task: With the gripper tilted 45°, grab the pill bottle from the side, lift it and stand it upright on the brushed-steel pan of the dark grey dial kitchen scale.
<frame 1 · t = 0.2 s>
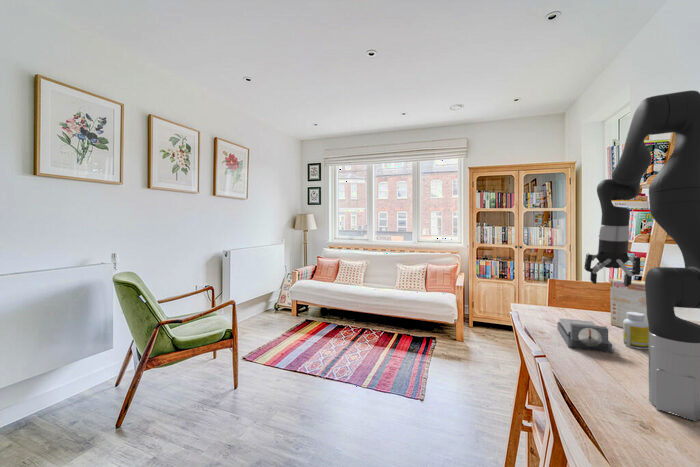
hand: (609, 284, 102), 22 cm above the table, tool pointing down, fingers open, 8 cm apart
coffeecake box: (636, 329, 120), on the table
kitchen scale: (581, 339, 111), on the table
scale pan: (580, 327, 112), point 4 cm above the table, slide at -0.4 cm
pill bottle: (635, 346, 104), on the table
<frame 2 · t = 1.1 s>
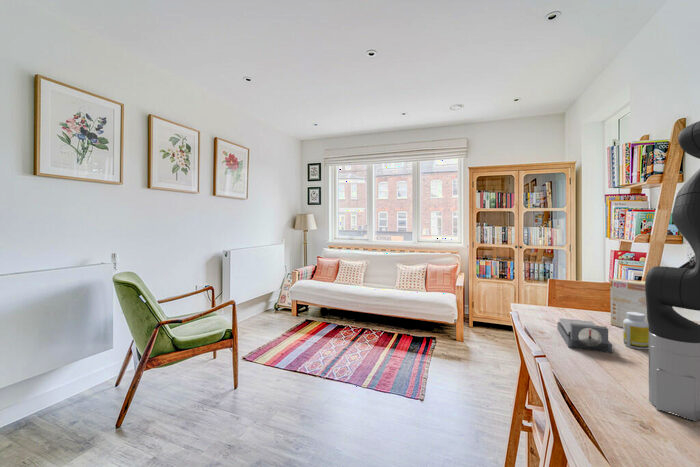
hand: (680, 273, 95), 27 cm above the table, tool tilted 45°, fingers open, 8 cm apart
nothing on the table moved.
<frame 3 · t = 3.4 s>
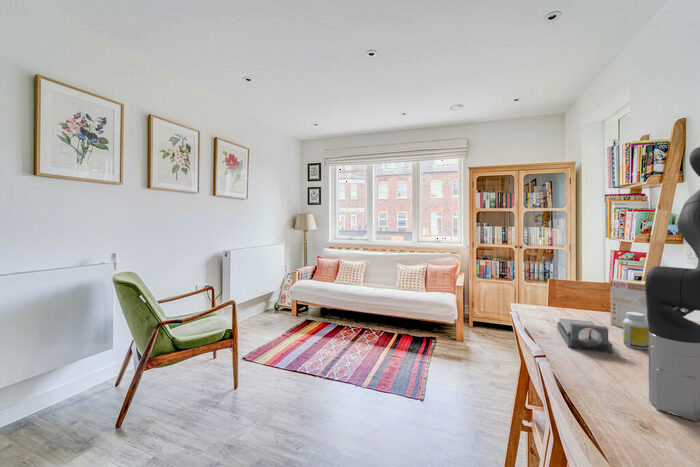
hand: (665, 316, 98), 12 cm above the table, tool tilted 45°, fingers open, 8 cm apart
nothing on the table moved.
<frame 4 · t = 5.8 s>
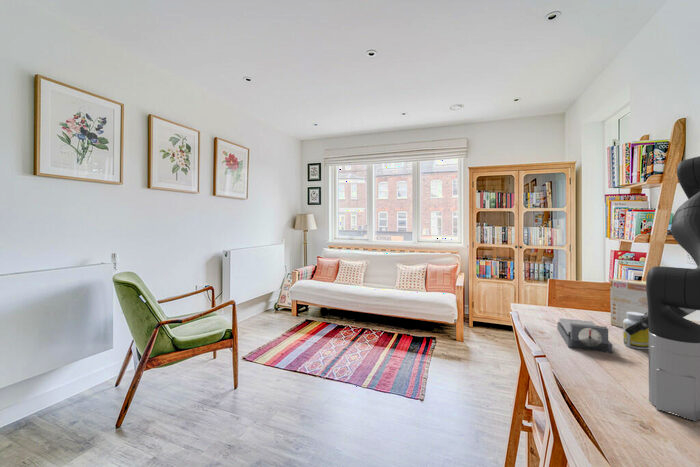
hand: (629, 329, 105), 5 cm above the table, tool tilted 45°, fingers closed on pill bottle, 6 cm apart
pill bottle: (635, 346, 104), on the table, touching gripper
everything else where it was.
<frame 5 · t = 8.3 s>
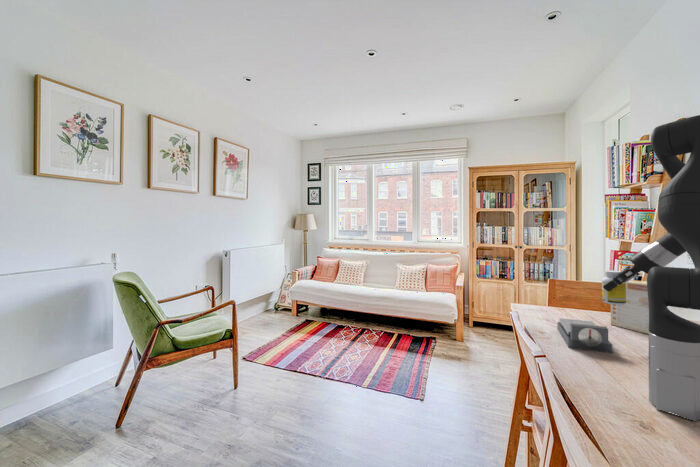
hand: (607, 287, 108), 20 cm above the table, tool tilted 45°, fingers closed on pill bottle, 6 cm apart
pill bottle: (613, 303, 107), point 14 cm above the table, touching gripper
everything else where it was.
when the fingers open (11 cm above the table, at t = 11.1 s): pill bottle drops 2 cm, resting on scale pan.
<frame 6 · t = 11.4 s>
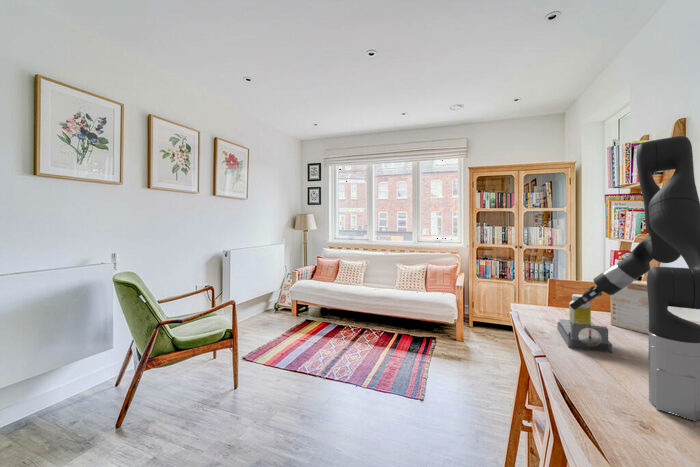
hand: (575, 305, 115), 12 cm above the table, tool tilted 45°, fingers open, 8 cm apart
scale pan: (580, 328, 112), point 4 cm above the table, slide at -0.7 cm, touching pill bottle
pill bottle: (580, 326, 114), point 4 cm above the table, touching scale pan
everything else where it was.
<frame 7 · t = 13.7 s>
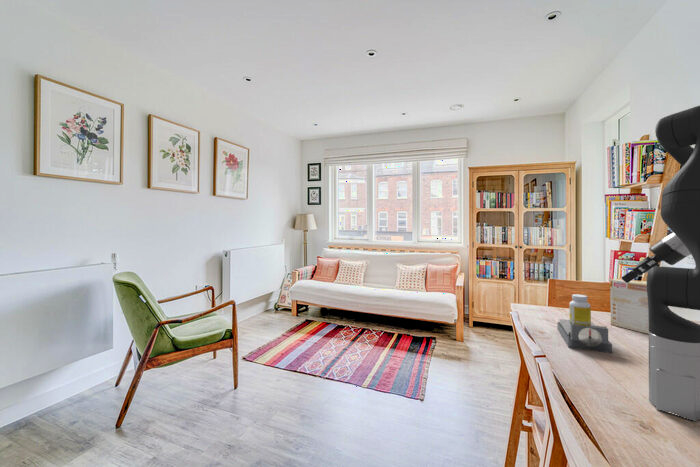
hand: (625, 278, 102), 24 cm above the table, tool tilted 45°, fingers open, 8 cm apart
nothing on the table moved.
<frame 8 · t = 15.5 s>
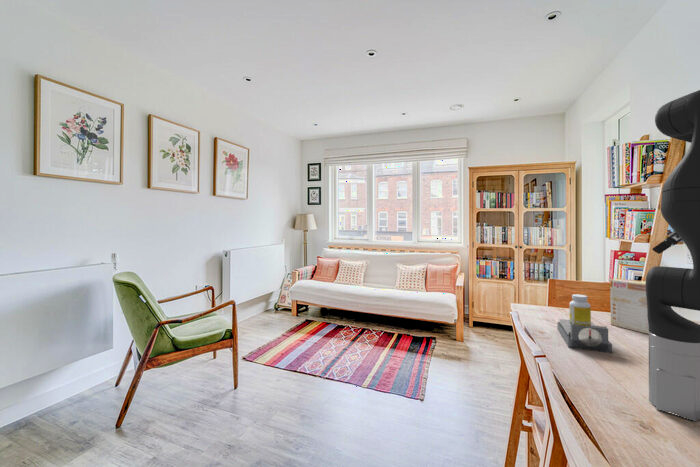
hand: (656, 250, 94), 35 cm above the table, tool tilted 45°, fingers open, 8 cm apart
nothing on the table moved.
at the end: pill bottle inside the target area on the kitchen scale (0.1 cm from its centre), point 4.1 cm above the kitchen scale's base; pill bottle tilted 0°; the gripper is holding nothing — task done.
